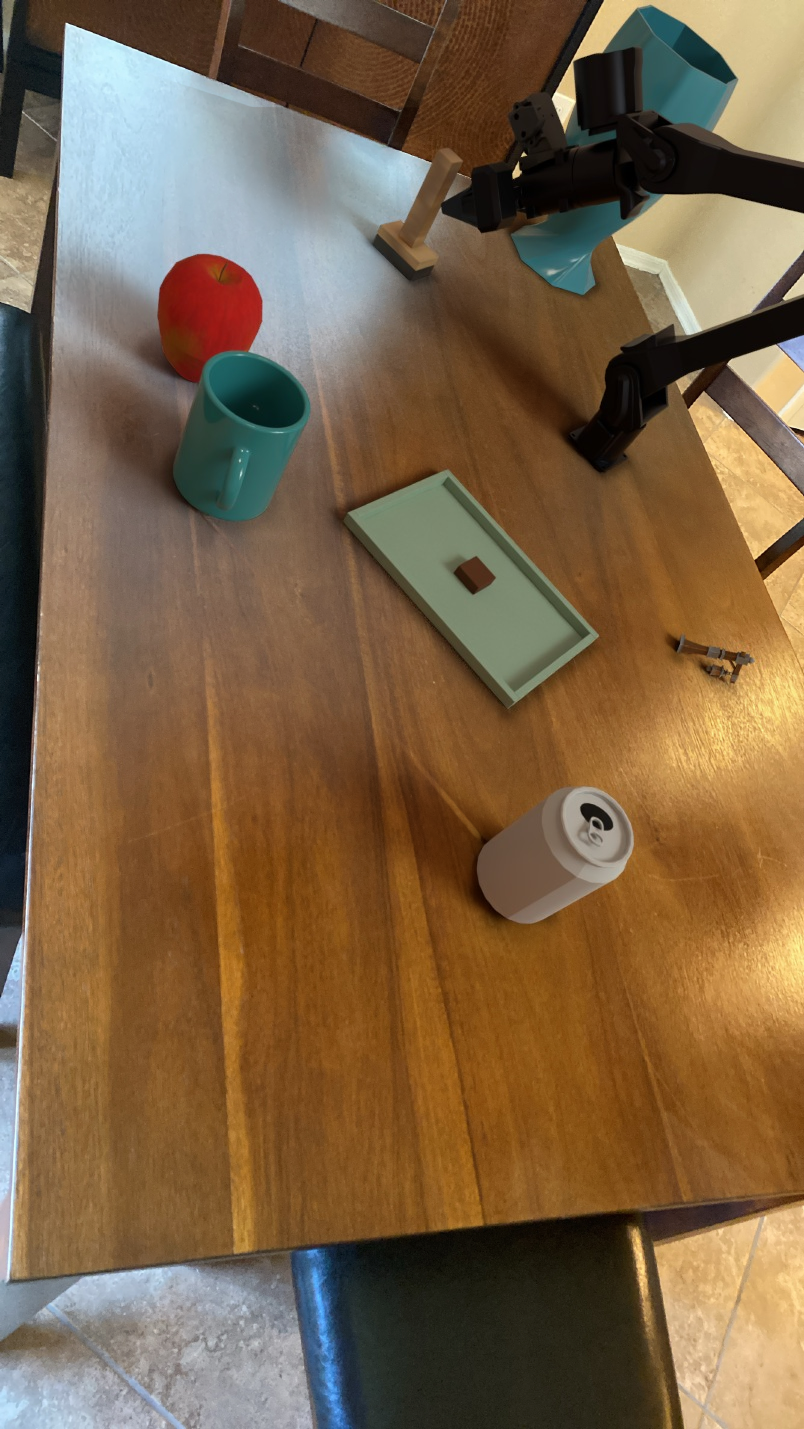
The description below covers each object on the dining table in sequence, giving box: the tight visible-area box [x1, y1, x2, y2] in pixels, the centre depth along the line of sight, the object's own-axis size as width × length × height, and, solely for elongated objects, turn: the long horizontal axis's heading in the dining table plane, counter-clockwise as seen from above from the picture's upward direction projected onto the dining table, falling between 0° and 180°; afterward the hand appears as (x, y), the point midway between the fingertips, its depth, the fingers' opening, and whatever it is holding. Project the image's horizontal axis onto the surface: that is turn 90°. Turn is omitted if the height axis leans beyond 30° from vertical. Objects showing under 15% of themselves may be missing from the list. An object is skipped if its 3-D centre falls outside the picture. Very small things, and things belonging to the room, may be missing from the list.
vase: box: [510, 4, 739, 296], centre depth 119 cm, size 17×17×30 cm
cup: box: [172, 351, 312, 522], centre depth 73 cm, size 9×12×11 cm
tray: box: [342, 468, 600, 710], centre depth 85 cm, size 16×24×2 cm, turn 46°
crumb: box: [454, 556, 496, 595], centre depth 85 cm, size 3×3×1 cm
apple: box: [156, 253, 264, 384], centre depth 80 cm, size 9×9×12 cm
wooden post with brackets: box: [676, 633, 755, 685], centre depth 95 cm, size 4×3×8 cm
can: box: [476, 785, 635, 925], centre depth 66 cm, size 8×8×12 cm
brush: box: [372, 147, 464, 282], centre depth 106 cm, size 7×4×14 cm, turn 51°
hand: (463, 203), depth 103 cm, fingers open, 9 cm apart
